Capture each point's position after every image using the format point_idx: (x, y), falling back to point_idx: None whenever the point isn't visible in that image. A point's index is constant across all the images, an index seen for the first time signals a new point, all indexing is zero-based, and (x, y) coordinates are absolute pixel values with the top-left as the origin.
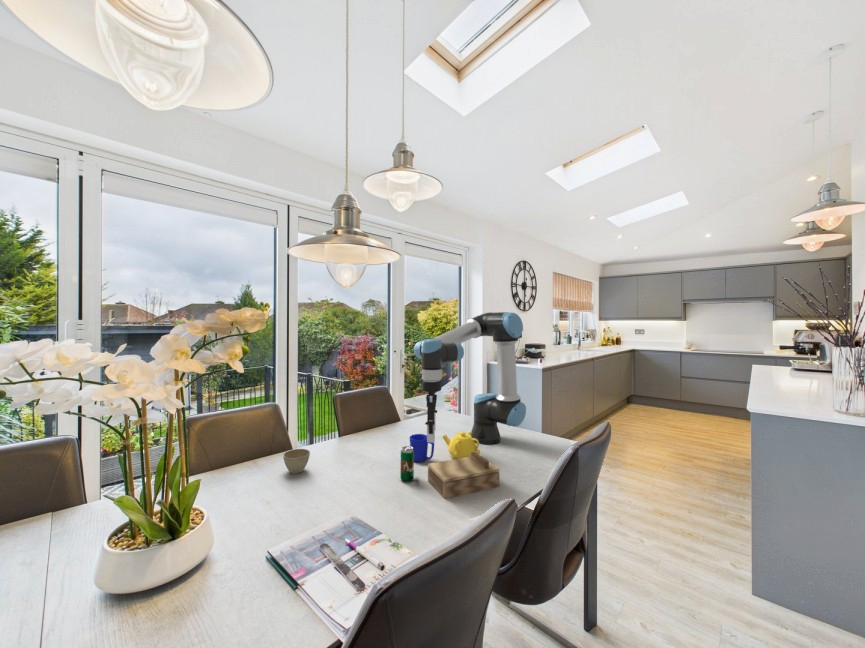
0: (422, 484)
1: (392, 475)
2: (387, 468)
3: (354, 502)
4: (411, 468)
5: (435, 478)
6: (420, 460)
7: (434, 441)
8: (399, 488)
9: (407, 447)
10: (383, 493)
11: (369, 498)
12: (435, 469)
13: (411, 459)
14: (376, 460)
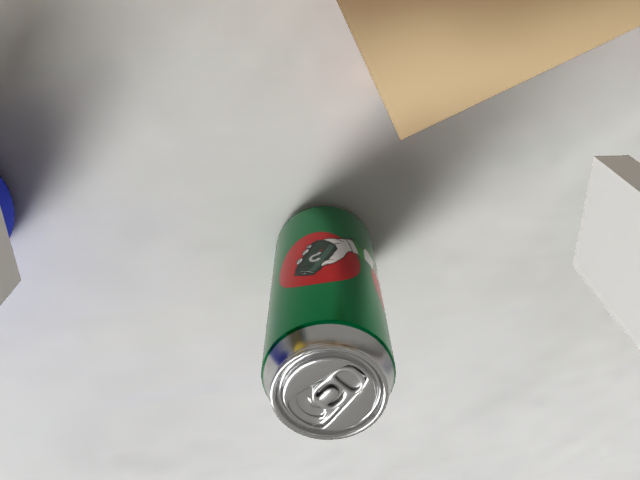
0: (397, 133)
1: None
2: (169, 380)
3: (596, 453)
4: (364, 258)
5: None
6: (4, 187)
7: (636, 162)
8: (454, 274)
9: (299, 394)
10: (513, 348)
11: (564, 401)
12: (542, 57)
13: (372, 299)
14: (60, 456)
